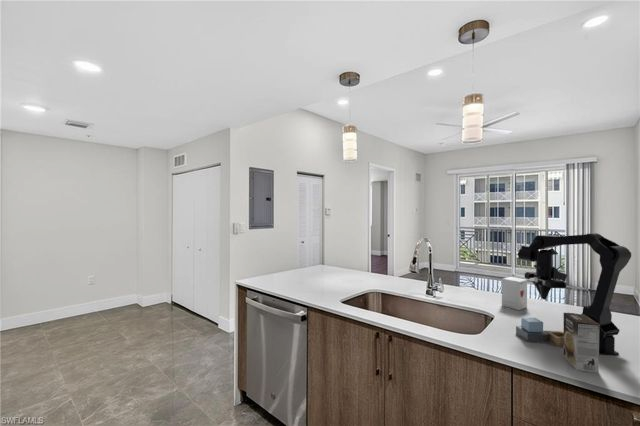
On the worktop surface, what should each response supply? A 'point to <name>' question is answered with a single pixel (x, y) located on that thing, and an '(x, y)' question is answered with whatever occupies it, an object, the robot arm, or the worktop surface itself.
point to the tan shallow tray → (556, 338)
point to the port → (532, 335)
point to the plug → (532, 324)
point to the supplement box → (514, 293)
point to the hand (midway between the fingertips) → (543, 299)
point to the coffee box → (581, 342)
